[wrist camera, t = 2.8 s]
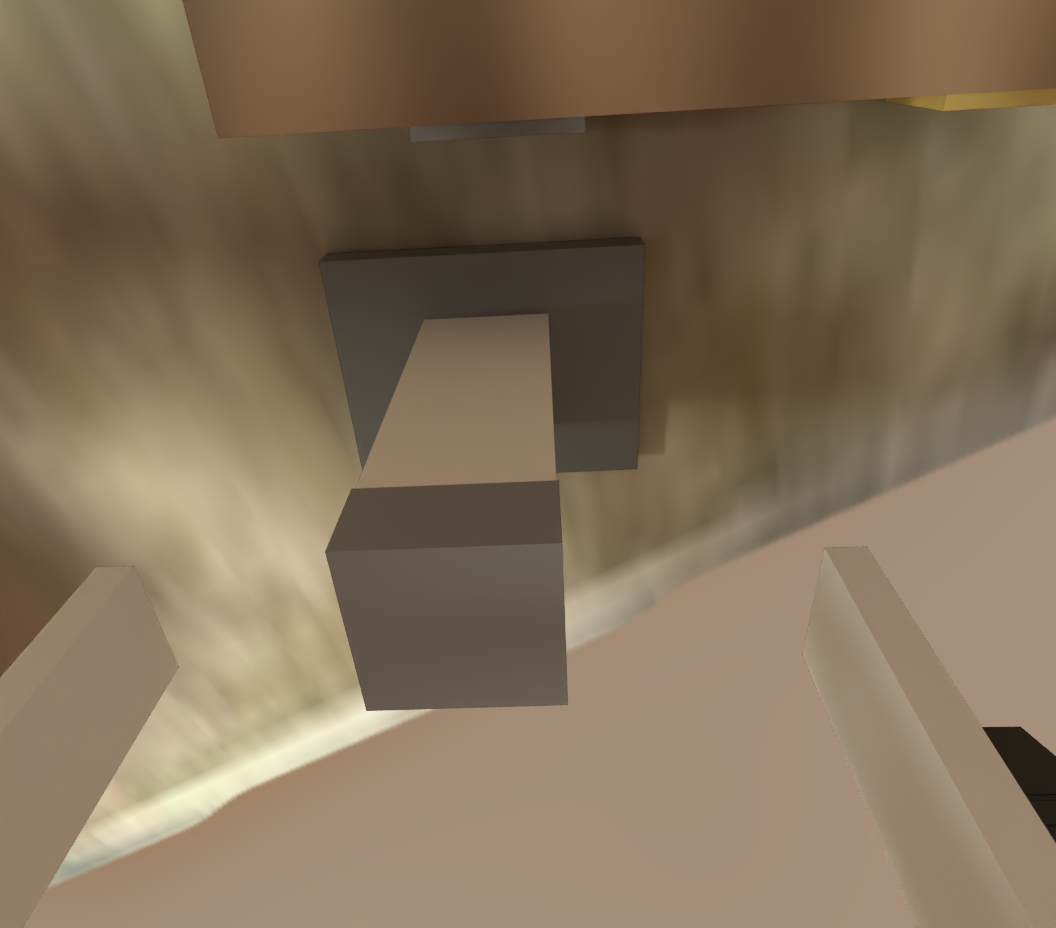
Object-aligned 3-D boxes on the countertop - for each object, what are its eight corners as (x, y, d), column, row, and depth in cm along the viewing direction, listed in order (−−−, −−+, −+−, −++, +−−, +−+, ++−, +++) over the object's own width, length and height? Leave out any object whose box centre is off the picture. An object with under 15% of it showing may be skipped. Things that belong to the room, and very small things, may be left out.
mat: (370, 466, 26) (364, 480, 25) (327, 253, 22) (318, 261, 21) (633, 455, 26) (637, 468, 25) (640, 236, 22) (644, 244, 21)
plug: (437, 430, 24) (366, 711, 14) (422, 318, 22) (325, 552, 12) (554, 425, 24) (567, 705, 14) (549, 311, 22) (561, 542, 12)
